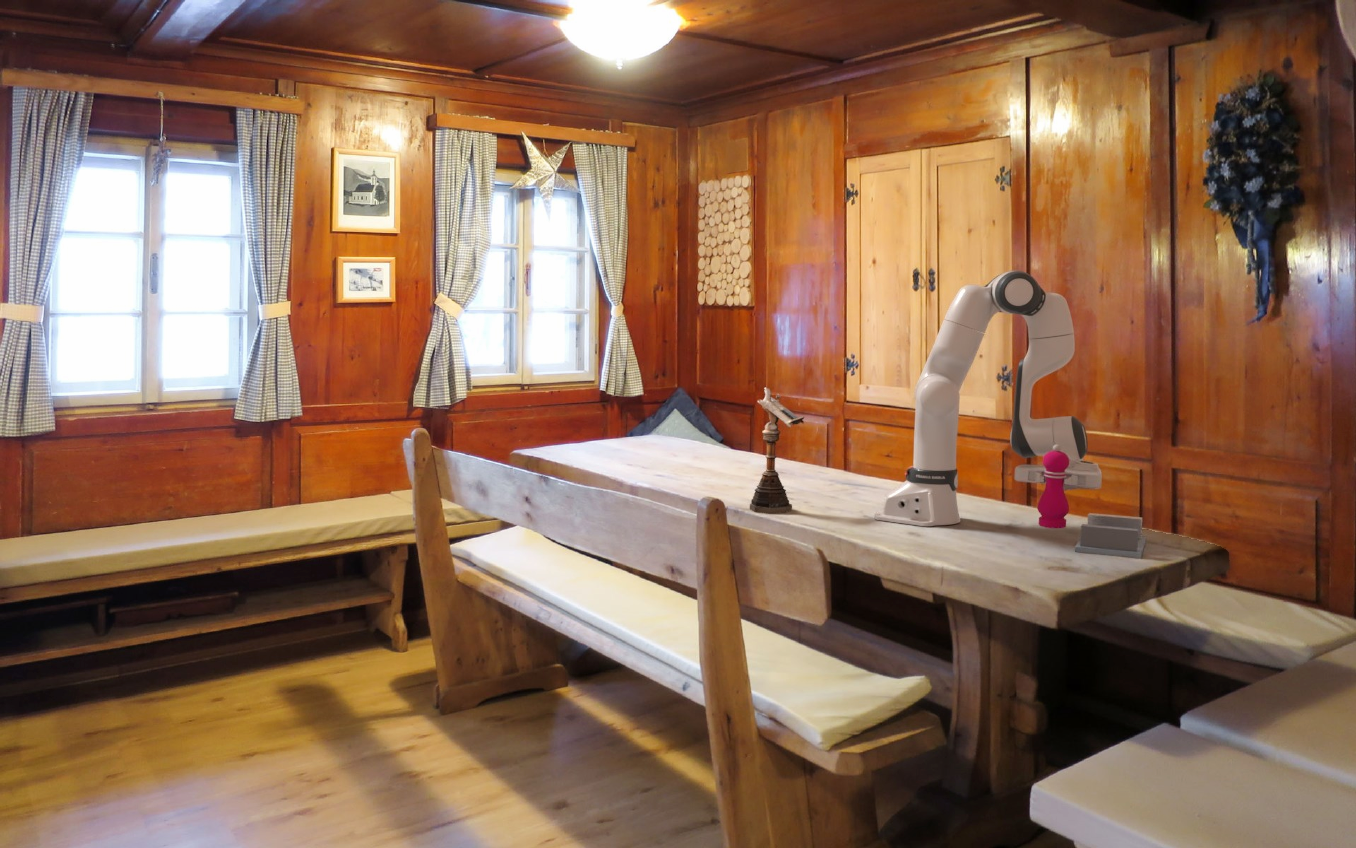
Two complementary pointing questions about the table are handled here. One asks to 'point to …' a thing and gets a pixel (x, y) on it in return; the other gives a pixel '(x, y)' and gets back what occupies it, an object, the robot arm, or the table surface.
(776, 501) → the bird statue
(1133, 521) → the sliding jaw
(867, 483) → the table surface
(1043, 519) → the pepper mill
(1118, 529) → the vise
